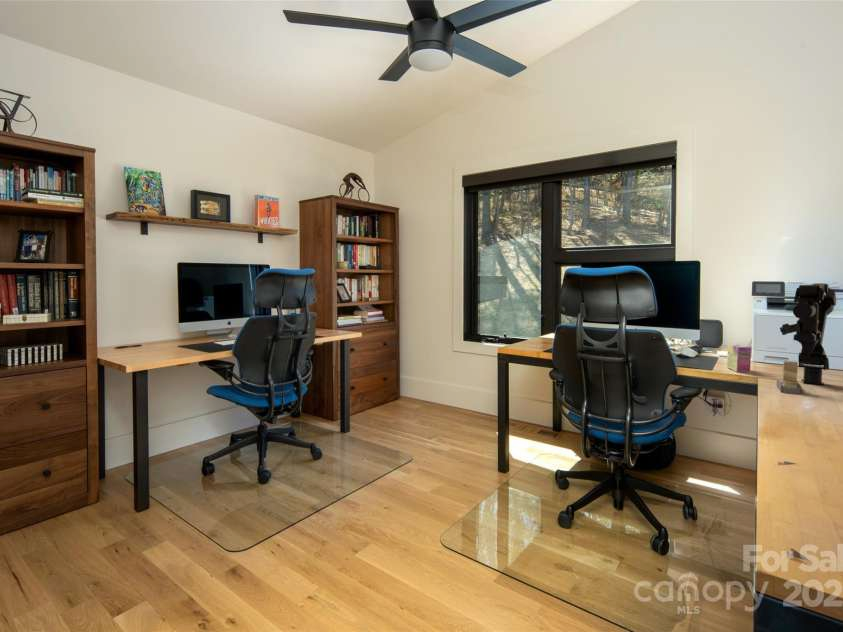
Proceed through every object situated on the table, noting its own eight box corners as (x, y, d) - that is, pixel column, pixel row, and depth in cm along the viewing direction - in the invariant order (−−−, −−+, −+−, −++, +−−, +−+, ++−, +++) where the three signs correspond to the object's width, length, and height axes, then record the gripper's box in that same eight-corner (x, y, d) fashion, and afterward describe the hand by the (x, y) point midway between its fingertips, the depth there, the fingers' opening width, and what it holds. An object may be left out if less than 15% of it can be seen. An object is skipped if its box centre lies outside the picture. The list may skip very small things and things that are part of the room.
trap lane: (776, 385, 184) (776, 378, 184) (795, 387, 181) (795, 380, 181) (780, 392, 174) (781, 385, 174) (801, 394, 171) (801, 386, 170)
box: (750, 372, 210) (751, 347, 210) (736, 372, 212) (737, 346, 211) (739, 368, 221) (740, 344, 220) (726, 368, 222) (727, 343, 221)
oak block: (782, 383, 179) (783, 360, 178) (795, 384, 177) (796, 361, 176) (784, 385, 175) (785, 362, 175) (797, 387, 173) (798, 363, 173)
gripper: (786, 315, 190) (784, 352, 192) (777, 318, 178) (776, 358, 179) (822, 316, 182) (820, 355, 183) (815, 319, 170) (813, 361, 171)
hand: (806, 357), depth 179 cm, fingers closed
